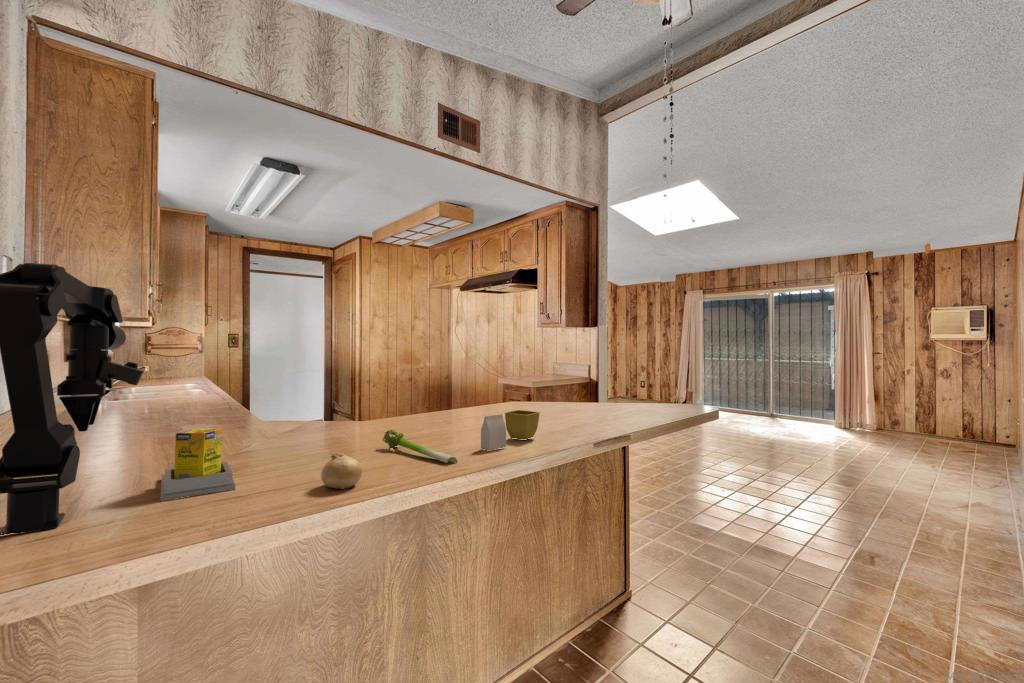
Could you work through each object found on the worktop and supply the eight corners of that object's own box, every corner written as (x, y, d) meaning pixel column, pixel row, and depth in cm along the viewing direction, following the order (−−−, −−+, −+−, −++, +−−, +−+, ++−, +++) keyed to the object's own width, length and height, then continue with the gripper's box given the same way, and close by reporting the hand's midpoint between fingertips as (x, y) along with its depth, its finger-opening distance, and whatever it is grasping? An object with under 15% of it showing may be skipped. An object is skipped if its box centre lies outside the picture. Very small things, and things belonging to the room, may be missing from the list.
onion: (360, 479, 98) (361, 448, 98) (362, 490, 90) (363, 455, 90) (321, 483, 95) (322, 450, 95) (320, 494, 87) (321, 459, 87)
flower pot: (540, 438, 145) (540, 411, 146) (527, 443, 138) (527, 414, 138) (517, 436, 150) (517, 409, 150) (503, 440, 143) (504, 412, 143)
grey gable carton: (505, 448, 131) (506, 414, 131) (489, 451, 126) (489, 417, 126) (497, 446, 133) (497, 413, 133) (480, 449, 128) (481, 415, 129)
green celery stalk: (440, 475, 109) (375, 447, 129) (461, 473, 114) (395, 447, 134) (444, 450, 109) (379, 427, 129) (464, 450, 115) (398, 427, 134)
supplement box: (203, 487, 88) (204, 432, 88) (172, 487, 88) (174, 432, 88) (221, 478, 94) (223, 427, 94) (193, 478, 94) (195, 427, 94)
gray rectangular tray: (235, 489, 90) (235, 472, 90) (160, 501, 83) (161, 482, 83) (226, 470, 104) (226, 455, 104) (161, 479, 97) (162, 463, 97)
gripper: (139, 350, 85) (137, 430, 85) (143, 350, 100) (141, 418, 100) (57, 349, 78) (55, 436, 78) (75, 349, 93) (72, 423, 93)
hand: (86, 427), depth 87 cm, fingers open, 9 cm apart
